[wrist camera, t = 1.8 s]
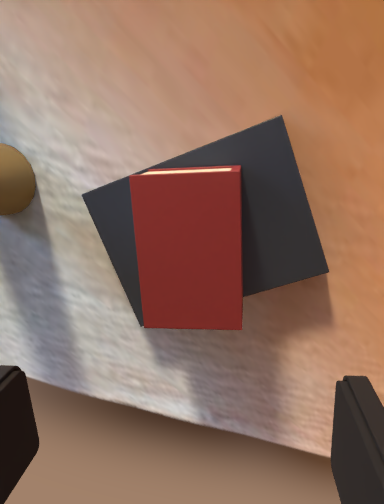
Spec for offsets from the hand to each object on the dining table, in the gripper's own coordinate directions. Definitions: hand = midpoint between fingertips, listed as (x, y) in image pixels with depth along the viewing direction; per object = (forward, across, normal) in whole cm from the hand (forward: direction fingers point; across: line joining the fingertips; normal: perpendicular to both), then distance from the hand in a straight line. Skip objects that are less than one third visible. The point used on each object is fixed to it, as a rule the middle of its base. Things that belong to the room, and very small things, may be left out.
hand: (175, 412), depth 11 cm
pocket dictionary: (+18, +1, -1) cm, 19 cm away
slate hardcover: (+20, +1, -1) cm, 20 cm away
